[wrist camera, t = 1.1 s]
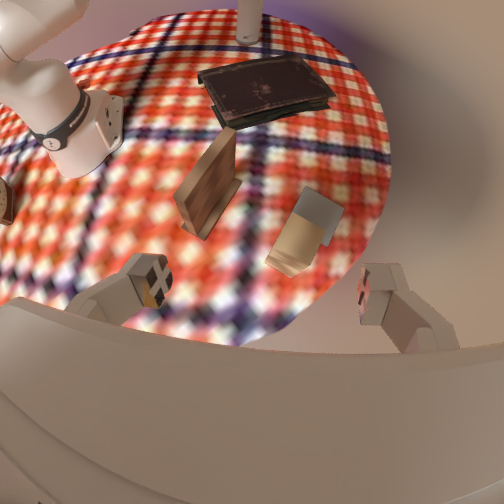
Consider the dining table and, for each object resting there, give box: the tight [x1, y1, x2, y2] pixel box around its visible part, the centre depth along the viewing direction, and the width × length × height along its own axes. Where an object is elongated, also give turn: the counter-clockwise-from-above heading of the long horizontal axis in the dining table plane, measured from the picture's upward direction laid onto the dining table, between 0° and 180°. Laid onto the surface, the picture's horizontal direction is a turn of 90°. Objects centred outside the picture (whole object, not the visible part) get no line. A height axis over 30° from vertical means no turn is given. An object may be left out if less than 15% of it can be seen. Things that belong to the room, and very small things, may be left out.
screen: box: [173, 126, 241, 241], centre depth 39 cm, size 12×4×14 cm, turn 151°
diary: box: [197, 54, 336, 131], centre depth 51 cm, size 19×25×5 cm
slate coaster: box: [288, 186, 345, 247], centre depth 46 cm, size 8×8×1 cm
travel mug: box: [236, 0, 264, 45], centre depth 49 cm, size 6×7×20 cm
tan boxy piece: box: [264, 212, 326, 278], centre depth 39 cm, size 5×5×11 cm
